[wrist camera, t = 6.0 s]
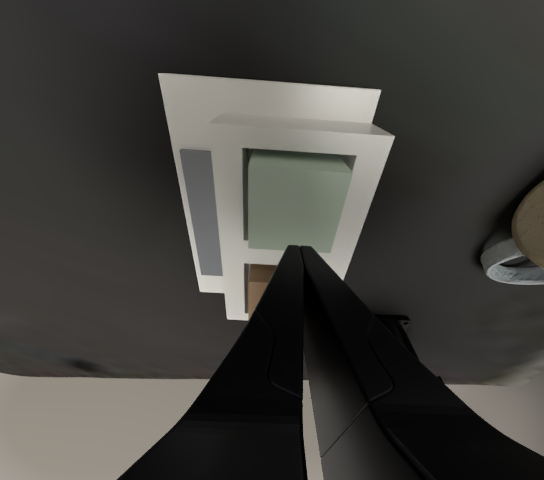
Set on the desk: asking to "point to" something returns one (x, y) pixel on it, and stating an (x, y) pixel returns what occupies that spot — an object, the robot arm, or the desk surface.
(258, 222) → the sage key
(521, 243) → the ceramic mug
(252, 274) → the walnut key
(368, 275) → the desk surface
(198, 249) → the key panel
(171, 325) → the desk surface
